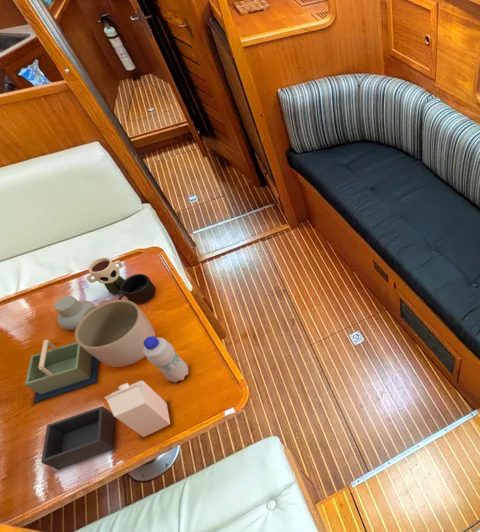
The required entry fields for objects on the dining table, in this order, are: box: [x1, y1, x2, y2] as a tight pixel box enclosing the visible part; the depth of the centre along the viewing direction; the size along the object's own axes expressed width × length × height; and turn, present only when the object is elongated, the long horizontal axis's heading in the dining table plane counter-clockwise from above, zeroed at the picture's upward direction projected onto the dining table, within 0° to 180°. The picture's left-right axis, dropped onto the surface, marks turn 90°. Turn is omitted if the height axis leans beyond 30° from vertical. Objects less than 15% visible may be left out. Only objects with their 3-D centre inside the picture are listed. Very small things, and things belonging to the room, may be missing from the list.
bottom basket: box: [40, 405, 116, 470], centre depth 105 cm, size 13×10×6 cm
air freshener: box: [53, 295, 97, 331], centre depth 129 cm, size 11×8×10 cm
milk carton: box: [104, 379, 171, 438], centre depth 104 cm, size 7×7×19 cm
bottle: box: [143, 336, 189, 383], centre depth 113 cm, size 7×7×20 cm
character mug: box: [85, 257, 125, 296], centre depth 137 cm, size 11×7×13 cm, turn 137°
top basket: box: [24, 339, 92, 395], centre depth 116 cm, size 13×10×12 cm
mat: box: [33, 356, 100, 404], centre depth 120 cm, size 16×14×1 cm
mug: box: [118, 273, 157, 305], centre depth 136 cm, size 12×9×7 cm
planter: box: [74, 299, 156, 368], centre depth 120 cm, size 17×17×15 cm
